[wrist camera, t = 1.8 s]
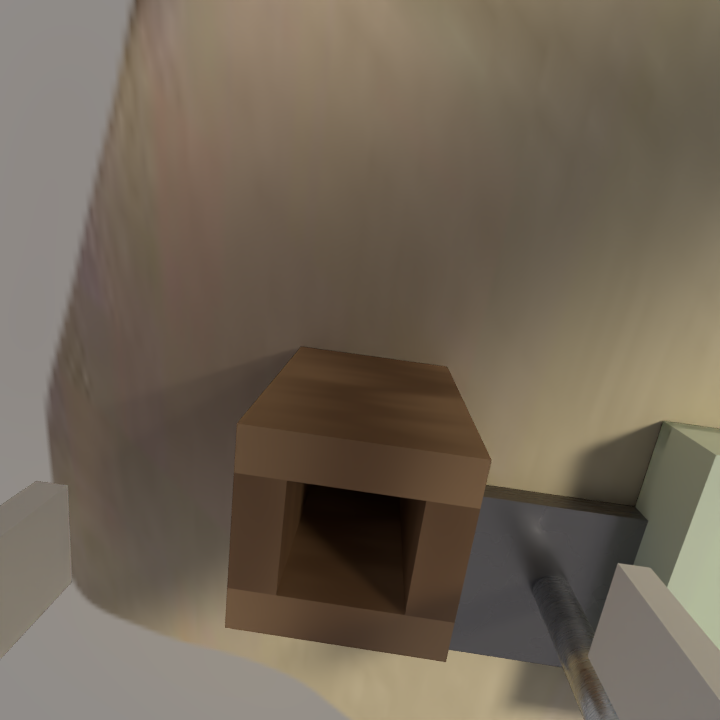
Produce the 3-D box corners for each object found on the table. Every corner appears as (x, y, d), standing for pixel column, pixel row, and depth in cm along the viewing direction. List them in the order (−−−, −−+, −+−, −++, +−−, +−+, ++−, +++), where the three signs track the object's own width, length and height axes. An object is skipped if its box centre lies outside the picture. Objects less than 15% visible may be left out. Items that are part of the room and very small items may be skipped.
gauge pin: (658, 510, 19) (885, 734, 10) (608, 656, 21) (761, 944, 12) (472, 483, 19) (542, 680, 11) (440, 630, 21) (476, 896, 13)
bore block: (447, 366, 18) (491, 459, 10) (423, 496, 20) (445, 661, 12) (301, 346, 18) (236, 423, 10) (288, 477, 20) (225, 627, 12)
